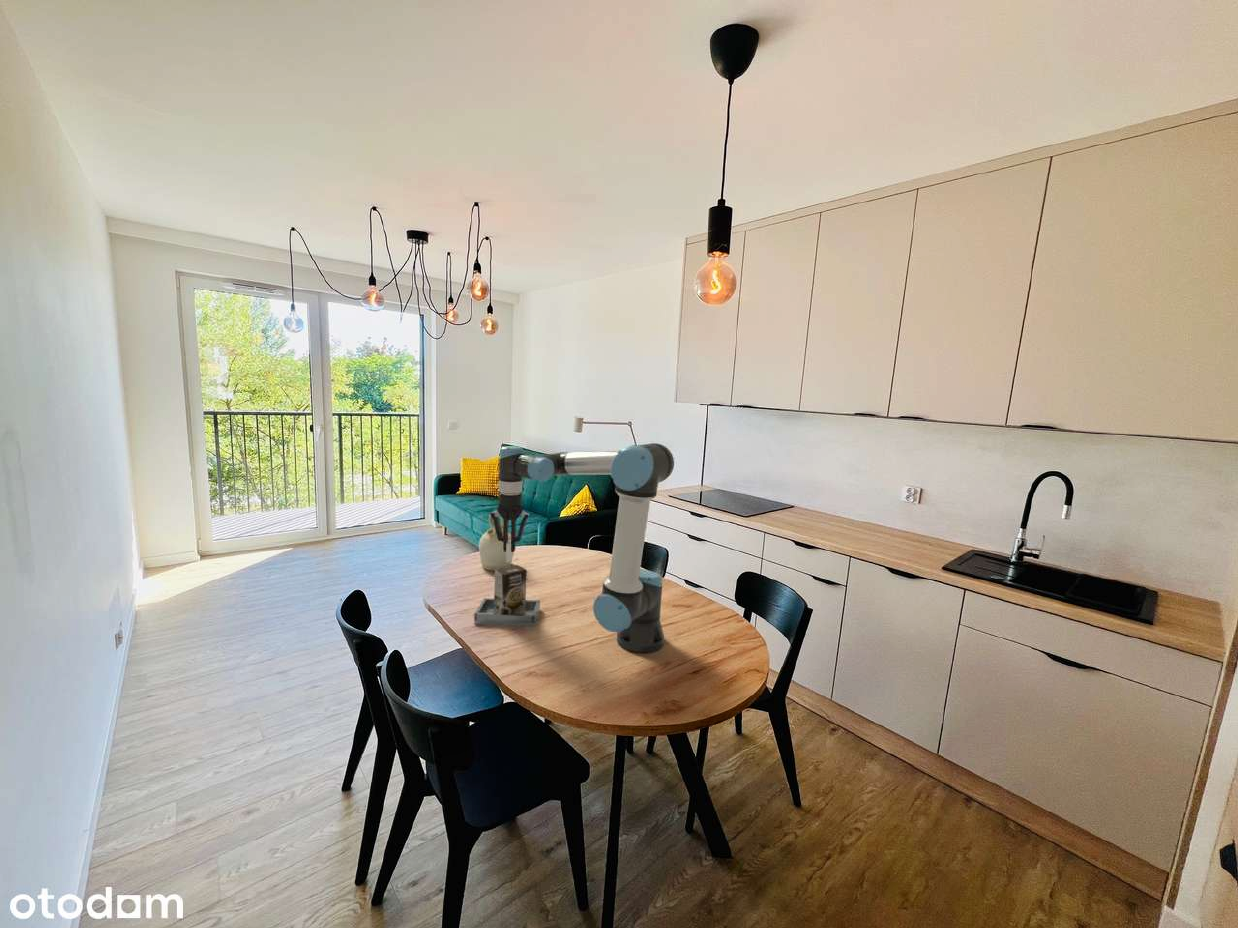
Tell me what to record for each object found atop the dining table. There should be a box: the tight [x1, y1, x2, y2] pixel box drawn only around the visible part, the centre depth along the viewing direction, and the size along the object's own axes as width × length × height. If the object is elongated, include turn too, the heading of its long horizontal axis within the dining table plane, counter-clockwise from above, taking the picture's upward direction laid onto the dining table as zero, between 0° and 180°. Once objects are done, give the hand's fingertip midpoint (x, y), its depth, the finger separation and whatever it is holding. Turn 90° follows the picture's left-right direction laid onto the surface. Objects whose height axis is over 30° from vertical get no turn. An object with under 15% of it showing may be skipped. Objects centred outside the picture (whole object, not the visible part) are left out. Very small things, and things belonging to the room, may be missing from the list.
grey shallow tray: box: [473, 597, 541, 627], centre depth 171 cm, size 20×12×4 cm, turn 91°
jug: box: [478, 513, 515, 572], centre depth 217 cm, size 15×16×25 cm
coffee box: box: [493, 564, 528, 614], centre depth 170 cm, size 9×6×16 cm
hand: (509, 560), depth 169 cm, fingers closed
